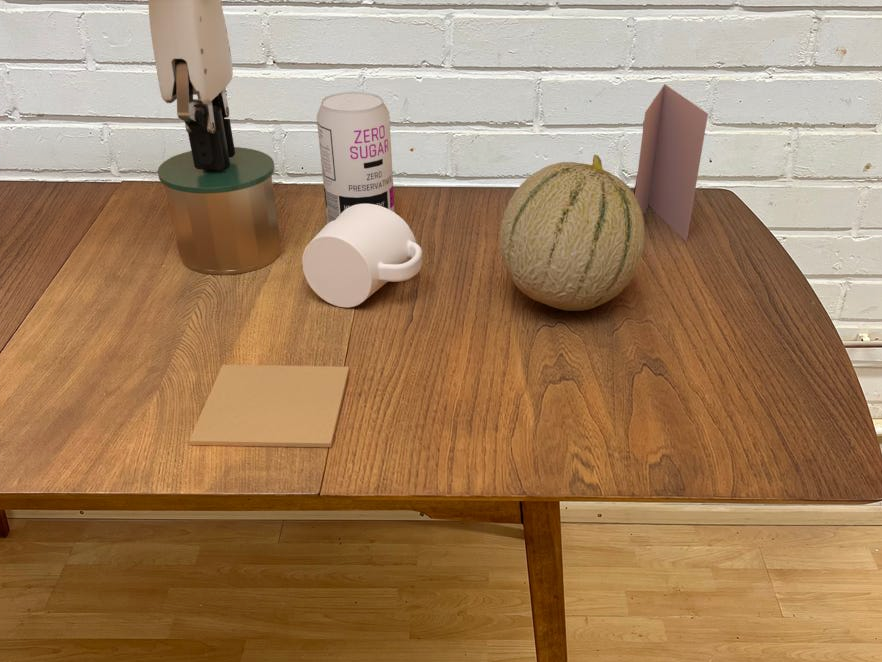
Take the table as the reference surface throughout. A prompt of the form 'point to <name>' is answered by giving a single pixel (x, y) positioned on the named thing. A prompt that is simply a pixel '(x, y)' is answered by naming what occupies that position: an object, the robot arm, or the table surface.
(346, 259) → the mug
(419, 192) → the table surface
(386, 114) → the supplement can
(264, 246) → the tin
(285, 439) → the cork mat
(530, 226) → the cantaloupe
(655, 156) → the greeting card
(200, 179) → the tin lid
